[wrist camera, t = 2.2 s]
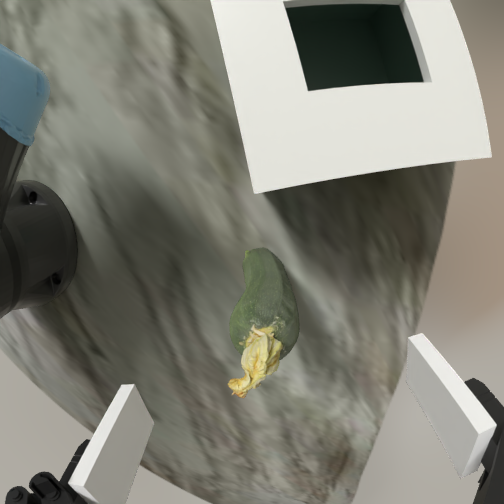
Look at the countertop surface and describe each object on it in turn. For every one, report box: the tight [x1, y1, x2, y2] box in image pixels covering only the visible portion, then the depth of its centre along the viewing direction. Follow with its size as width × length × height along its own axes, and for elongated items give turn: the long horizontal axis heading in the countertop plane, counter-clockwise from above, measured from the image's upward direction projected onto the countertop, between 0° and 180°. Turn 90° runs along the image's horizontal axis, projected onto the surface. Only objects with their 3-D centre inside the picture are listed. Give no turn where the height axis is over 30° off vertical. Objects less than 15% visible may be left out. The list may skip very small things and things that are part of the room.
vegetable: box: [227, 248, 299, 398], centre depth 23 cm, size 4×4×20 cm
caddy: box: [211, 0, 492, 194], centre depth 21 cm, size 16×16×14 cm
